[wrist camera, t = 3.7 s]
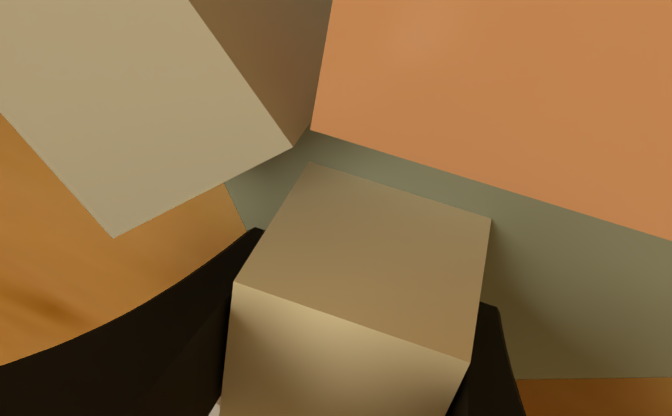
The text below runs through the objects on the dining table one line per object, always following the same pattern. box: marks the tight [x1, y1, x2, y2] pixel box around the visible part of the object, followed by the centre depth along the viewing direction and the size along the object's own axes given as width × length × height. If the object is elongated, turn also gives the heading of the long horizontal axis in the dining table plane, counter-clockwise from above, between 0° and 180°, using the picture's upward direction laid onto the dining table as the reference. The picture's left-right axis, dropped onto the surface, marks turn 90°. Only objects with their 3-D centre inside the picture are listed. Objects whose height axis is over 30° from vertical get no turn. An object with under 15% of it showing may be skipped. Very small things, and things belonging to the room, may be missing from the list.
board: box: [224, 121, 672, 380], centre depth 12 cm, size 16×12×1 cm
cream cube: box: [219, 161, 491, 416], centre depth 13 cm, size 4×4×4 cm
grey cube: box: [0, 0, 333, 239], centre depth 10 cm, size 4×4×4 cm
